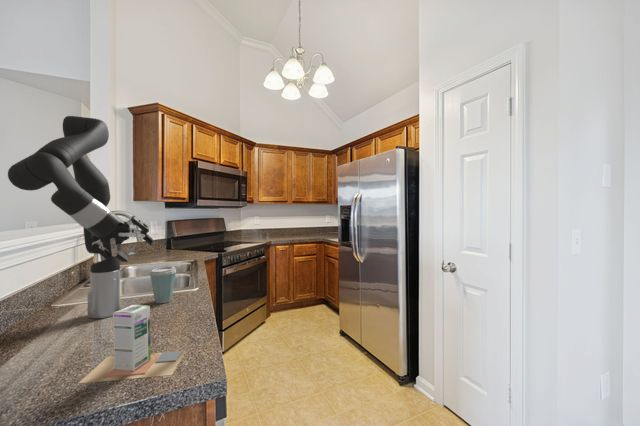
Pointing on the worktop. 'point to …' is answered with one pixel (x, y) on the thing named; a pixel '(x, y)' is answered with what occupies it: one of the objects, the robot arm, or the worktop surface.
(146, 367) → the terracotta pad
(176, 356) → the slate tile
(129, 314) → the syrup box
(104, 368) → the oak board
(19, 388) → the worktop surface
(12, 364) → the worktop surface
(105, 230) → the robot arm
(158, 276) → the disposable coffee cup
